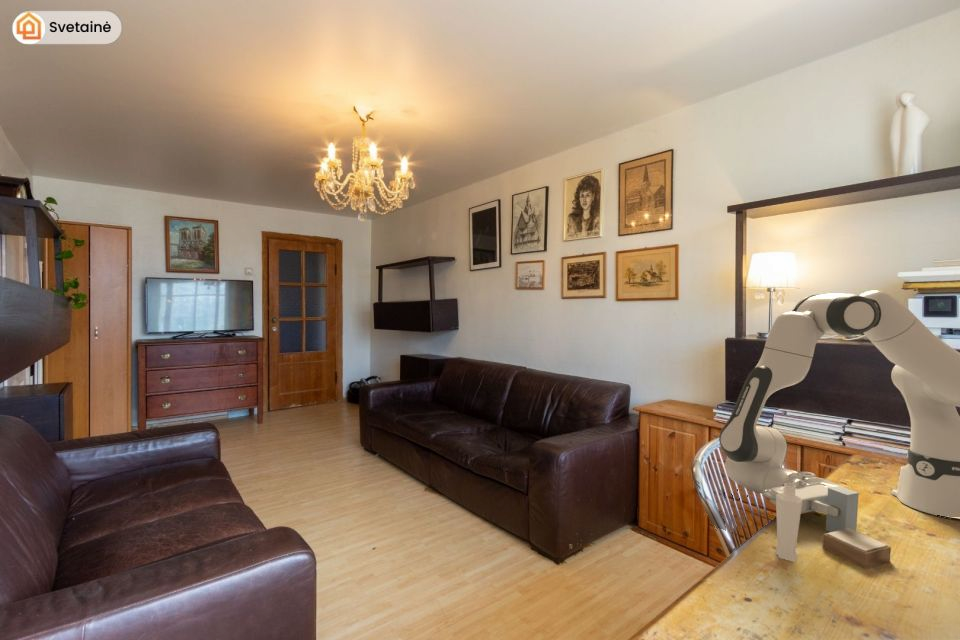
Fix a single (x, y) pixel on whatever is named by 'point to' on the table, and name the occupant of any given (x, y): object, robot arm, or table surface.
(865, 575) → the table surface
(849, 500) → the grey tall block
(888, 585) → the table surface
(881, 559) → the plinth
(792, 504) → the perfume bottle
